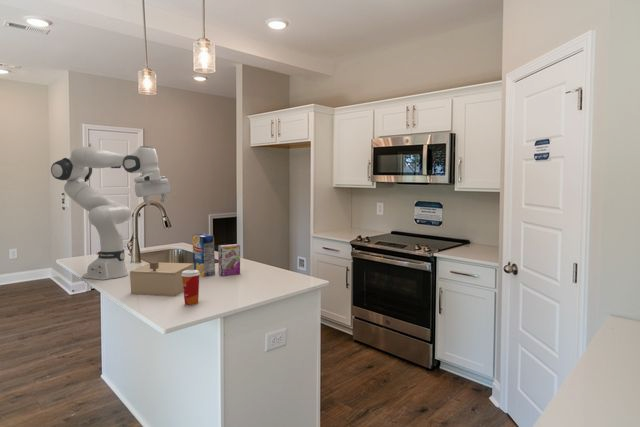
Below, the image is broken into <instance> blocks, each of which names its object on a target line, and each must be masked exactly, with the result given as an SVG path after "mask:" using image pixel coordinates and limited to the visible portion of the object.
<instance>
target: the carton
mask: <svg viewBox="0 0 640 427" xmlns="http://www.w3.org/2000/svg"><path fill="white" fill-rule="evenodd" d="M186 270H194V265H193V266H191V267H189V268H187V269H185V270H183V271H186ZM183 271H181V272H179V273H177V274H149V273H130V272H129V277H130V278H129V279H130V280H129V282H130V294H131V295H139V296H140V295H141V296H145V295H146V296H163V297H164V296H167V297H177V296H178V295H180V294H181V293H182V292H183V293H184V291H183V280H182V276H181V274H182V272H183Z"/></svg>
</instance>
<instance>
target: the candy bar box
mask: <svg viewBox="0 0 640 427" xmlns="http://www.w3.org/2000/svg"><path fill="white" fill-rule="evenodd" d="M217 248H218V252H217V254H218V275H219V276H221V277H226V276H233V275H240V274H241V245H240V244H237V243H235V244H223V245H222V244H221V245H218V247H217Z"/></svg>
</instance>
